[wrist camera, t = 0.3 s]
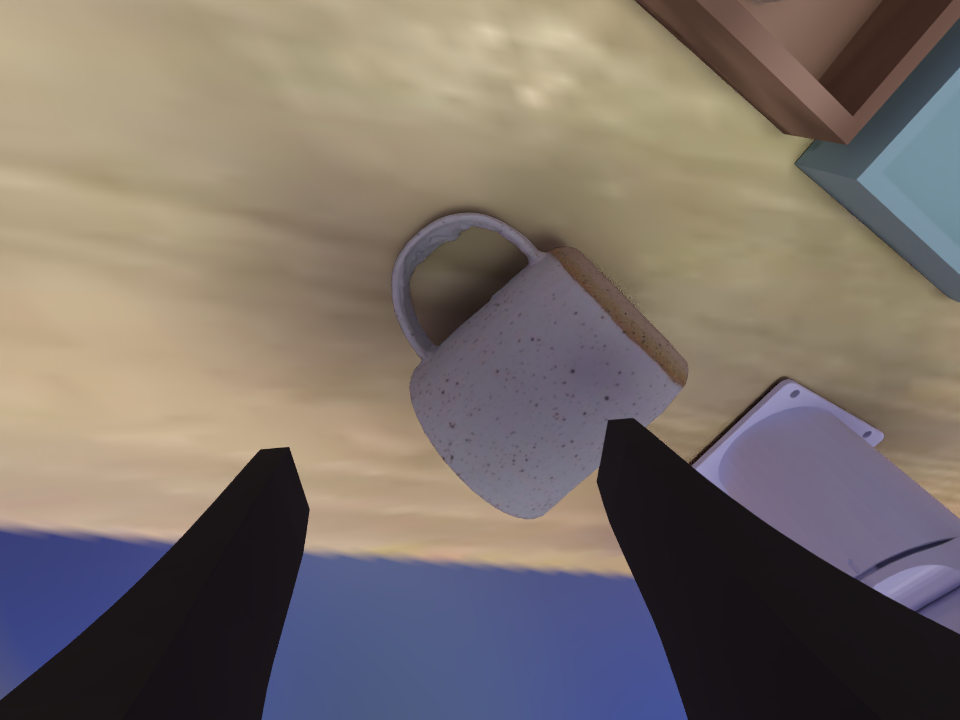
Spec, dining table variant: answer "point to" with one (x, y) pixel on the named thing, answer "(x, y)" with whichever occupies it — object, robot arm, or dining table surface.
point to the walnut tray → (810, 54)
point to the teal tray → (907, 168)
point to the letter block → (762, 1)
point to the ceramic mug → (533, 372)
